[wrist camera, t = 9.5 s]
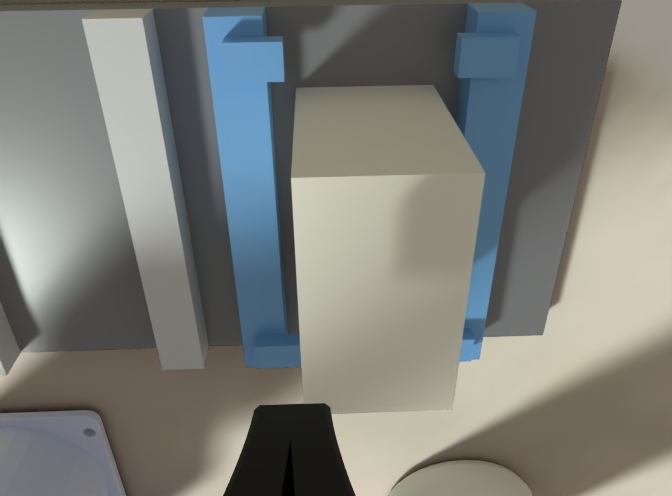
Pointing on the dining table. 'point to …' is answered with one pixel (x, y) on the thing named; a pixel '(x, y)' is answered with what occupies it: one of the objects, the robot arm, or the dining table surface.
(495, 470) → the milk bottle
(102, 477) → the robot arm
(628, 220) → the dining table surface
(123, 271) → the board
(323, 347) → the tall cream block
